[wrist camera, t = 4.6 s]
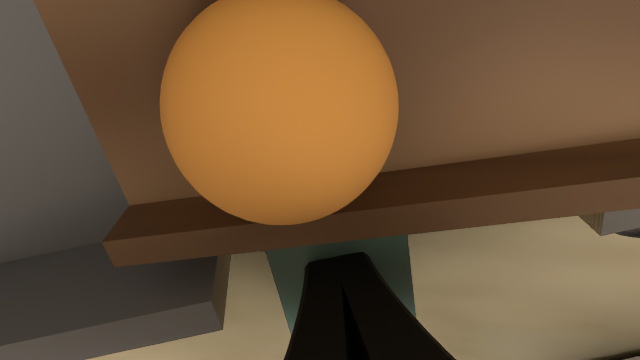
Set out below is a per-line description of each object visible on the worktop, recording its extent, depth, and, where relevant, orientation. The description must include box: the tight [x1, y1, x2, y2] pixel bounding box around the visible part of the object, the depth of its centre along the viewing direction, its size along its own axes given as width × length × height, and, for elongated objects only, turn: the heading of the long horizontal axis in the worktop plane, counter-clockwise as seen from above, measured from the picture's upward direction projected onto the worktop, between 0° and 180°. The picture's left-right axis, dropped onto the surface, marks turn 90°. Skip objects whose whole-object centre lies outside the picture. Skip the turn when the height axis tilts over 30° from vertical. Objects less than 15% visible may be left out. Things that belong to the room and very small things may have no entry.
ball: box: [160, 0, 399, 225], centre depth 6 cm, size 3×3×3 cm
